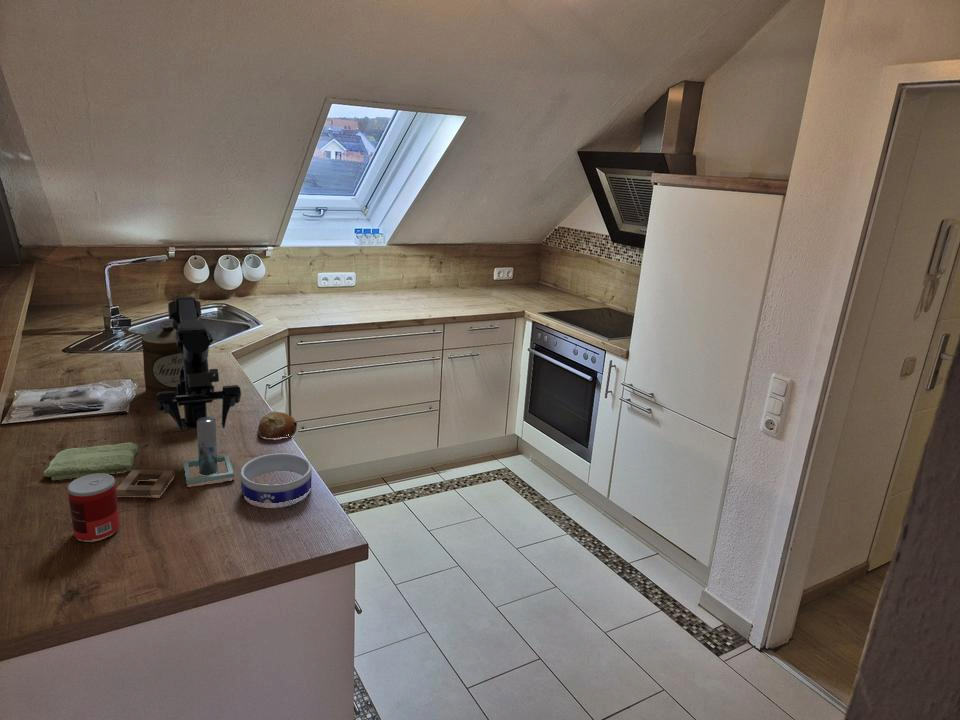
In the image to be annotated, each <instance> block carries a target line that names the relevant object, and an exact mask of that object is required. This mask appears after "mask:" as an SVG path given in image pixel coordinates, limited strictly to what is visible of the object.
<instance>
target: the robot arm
mask: <svg viewBox="0 0 960 720" xmlns="http://www.w3.org/2000/svg"><path fill="white" fill-rule="evenodd" d="M167 307H168V308H167V310H168V311H167V313H168V319H169V320H171V323H172V326H173V328H174V329H176V330H177V331H178V332H176V344H177V347H180V349H181V350H182V358H183V367H184V370H181V372H180V376H179V381H180V384H177V395H175V391H163V392H159V393H158V394H157V400H156V404H157V410H158V411H160V412H163V413H164V414H169V415H170V417H171V418H172V420H174V421H175V424H176V426H177V427H178V429H179V431H180V433H181V434H183V433H184V426H185V427H186V428H188V429H193V428H197V420H198V419H199V418H202V417H208V409H207V408H208V407H207V404H208V403H210V404H212V403H213V401H214V400H222V405H221V425H222V429H225V427H226V422H227V417H228V414H229V412H230V408H231V407H234V406H235V405H236V404H238V403H240V401H241V397H242V392H241V387H240V386H239V385H237V384H232V385H223V386H222V390H220V391H219V390H218V391H215V385H213V383H218V382H220V378H219V376H220V375H219V369H218V368H209V359H208V357H209V352H210V346H211V345H212V344H213V343H214V338H213V336H212V334H211V333H210V331H209V329H206V326H205V323H204V322H201V321H199V319H201V317H202V308H201V301H198V300H197V299H196V297H195V296H178V297H175V298H174V300H173V301H170V302H168V306H167ZM182 406H183V414H184V418H182V417H181V414H180V409H179V407H182ZM183 425H184V426H183Z"/></svg>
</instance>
